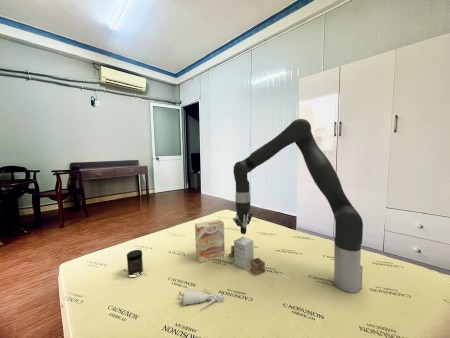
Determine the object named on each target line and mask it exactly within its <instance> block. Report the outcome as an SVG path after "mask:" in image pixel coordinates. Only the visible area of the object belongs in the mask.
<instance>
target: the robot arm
mask: <svg viewBox="0 0 450 338" xmlns="http://www.w3.org/2000/svg"><path fill="white" fill-rule="evenodd" d="M294 143H295V145H296V146H297V147H298V149H299V151H300V153H301V154H302V157H303V160H304V162H305V165H306V168H307V170H308V172H309V175H310V176H311V178H312V180H313V181H314V183H315V185H316V186H317V188H318V189H319V191H320V192H321V193H322V194H323V196H324V197H325V199H326V200H327V202H328V204H329V206H330V210H331V211H332V214H333V217H334V221H335V222H334V223H335V228H334V230H335V231H334V241H333V243H334V244H333V245H334V250H333V251H334V255H333V256H334V257H333V258H334V259H333V260H334V261H333V263H334V264H333V265H334V266H333V283H334V285H335V286H336V287H337V288H338V289H340V290H342V291H344V292H347V293H353V294H354V293H358V292H359V291H361V290H362V289H363V271H364V270H363V268H364V267H363V265H361V257H362V256H361V249H362V243H363V235H364V232H363V229H364V223H363V218H362V216H361V215H360V213H359V212H358V211H357V209H356V208H355V207H354V205H353V204H352V203H351V201H350V200H349V198H348V197H347V195H346V194H345V191H344V190H343V187H342V183H341V181H340V178H339V176H338V174H337V172H336V170H335V169H334V167H333V165H332V163H331V161H330V159H329V158H328V157H327V156H326V154H325V153H324V151H322V149H320V146H319V145H318V143H317V142H316V140H315V138H314V135H313V132H312V126H311V123H310V122H309V120H307V119H305V118H298V119H295V120H293V121H292V122H291V123H290V124H289V125H288V126H287V127H286V128H285V129H284V130H283V131H281V132H280V133H279V134H278V135H276V136H275V137H274V138H273V139H271V140H270V141H268V142H267V143H264V144H263V145H262V146H260V147H259V148H257V149H255V150H254V151H253V152H251V154H249V156H247V157H246V158H244V159H243V160H241V161H240V160H239V161H237V162H236V163H234V166H233V176H234V180H235V198H234V199H235V210H236V216H235V217H233V218H232V220H233V222H234V223H235V224H236V226H237V227H239V228H240V234H242V235H246V234H247V226H249V225H250V222H251V221H252V218H253V216H254V214H253V213H251V212H250V210H251V192H250V191H251V189H250V188H251V187H250V181H249V180H248V179H249V178H248V174H249V173H250V172H252V171H253V170H254V169H256V168H257V167H259V166H261V165H262V164H264V163H266V162H267V161H269V160H270V159H271V158H273V157H274V156H275V155H276V154H277V155H278V153H279V152H281V150H283V149H285V148H287V147H288V146H290V145H292V144H294Z"/></svg>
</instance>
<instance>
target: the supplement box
mask: <svg viewBox="0 0 450 338" xmlns="http://www.w3.org/2000/svg"><path fill="white" fill-rule="evenodd" d="M233 246H234V256H235V259H234V264H235V266H238V267H239V268H242V269H243V268H244V269H243V270H246V269H248V268H249V267H250V260H252V259H255V257H254V256H255V254H254V240H253V239H251V238H248V237H245V236H241V237H239V238H237V239H234V240H233Z"/></svg>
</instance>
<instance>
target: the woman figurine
mask: <svg viewBox="0 0 450 338" xmlns="http://www.w3.org/2000/svg"><path fill="white" fill-rule="evenodd" d="M204 290H206V291H207V292H208V293H209V294H208V293H205V292H201V291H198V290H195V289H190V288H185V289H184V291H183V292H184V293H183V292H182V293H181V290H180V291H179V292H178V295H177V300H179V301H182V304H183V306H187V305H186V304H189V305H194V303H195V304H200V303H203V302H205V301H206V300H208V301H209V302H208V303H207V304H205V305H204V306H201V307H200V308H199V309H200V311H202V310H203V309H205V308H206V307H208V306H210V305H211V304H213V303H215V302H217V301H219V302H218V303H222V302H223V301H224V300H225V295H224V294H223V293H220V294H219V293H218V294H215V293H214V292H211V291H210V290H209V289H208V288H206V287H205V286H204ZM181 296H182V297H181ZM199 302H200V303H199Z"/></svg>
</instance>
